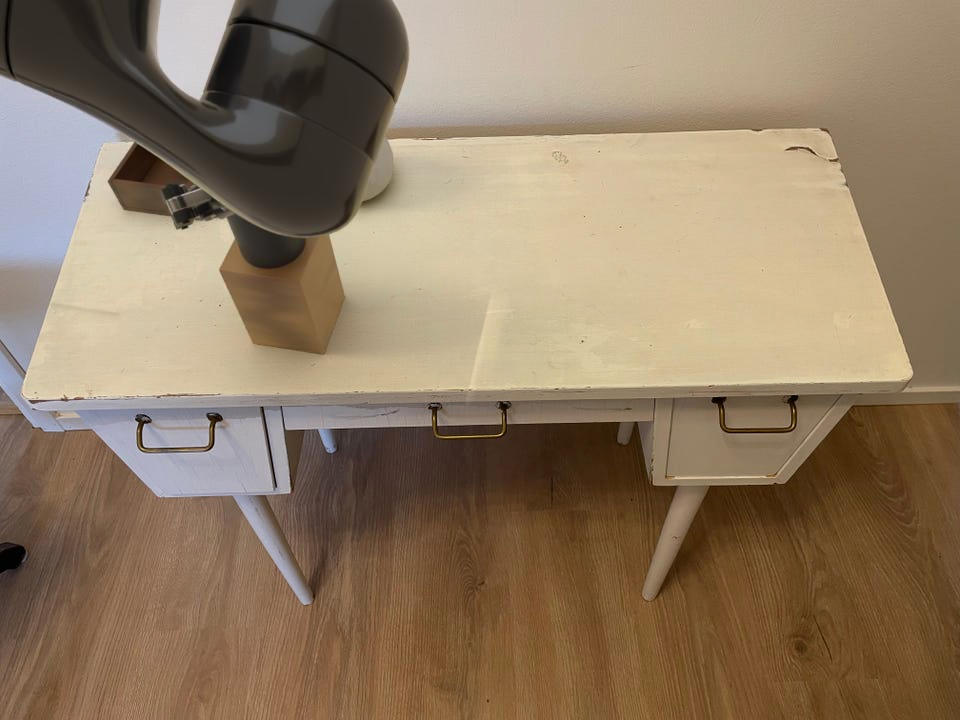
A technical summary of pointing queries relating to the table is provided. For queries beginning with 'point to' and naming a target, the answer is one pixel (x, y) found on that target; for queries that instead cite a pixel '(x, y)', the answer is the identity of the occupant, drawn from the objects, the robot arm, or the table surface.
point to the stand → (288, 297)
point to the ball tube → (264, 244)
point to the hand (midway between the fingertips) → (258, 187)
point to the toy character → (381, 171)
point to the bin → (144, 181)
